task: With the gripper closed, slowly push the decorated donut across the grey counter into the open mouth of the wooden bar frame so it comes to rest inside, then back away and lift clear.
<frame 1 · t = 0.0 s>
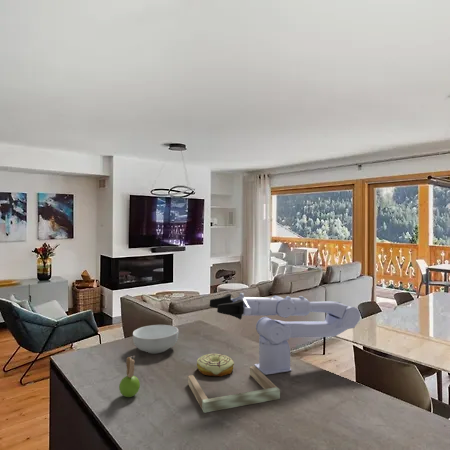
hand: (213, 305, 109), 22 cm above the kitchen island, tool horizontal, fingers open, 7 cm apart
wooden bar frame: (230, 389, 101), on the kitchen island
snail figurine: (130, 397, 97), on the kitchen island
decorated donut: (215, 371, 114), on the kitchen island
cereal bowl: (155, 350, 133), on the kitchen island
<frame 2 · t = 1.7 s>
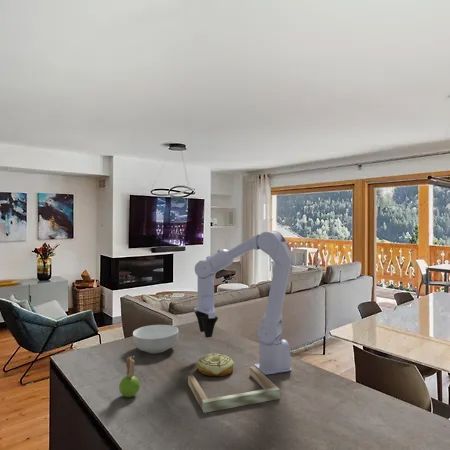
hand: (205, 334, 124), 8 cm above the kitchen island, tool pointing down, fingers open, 6 cm apart
nothing on the kitchen island moved.
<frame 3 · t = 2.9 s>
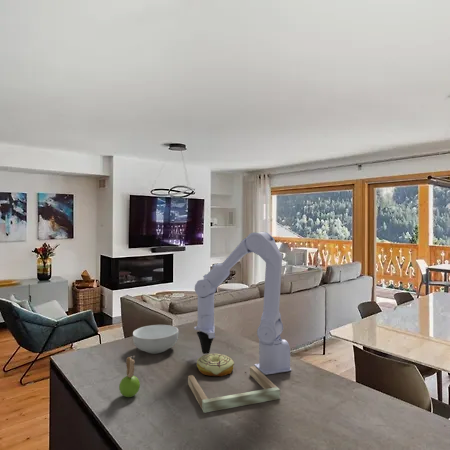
hand: (205, 353, 124), 2 cm above the kitchen island, tool pointing down, fingers closed
nothing on the kitchen island moved.
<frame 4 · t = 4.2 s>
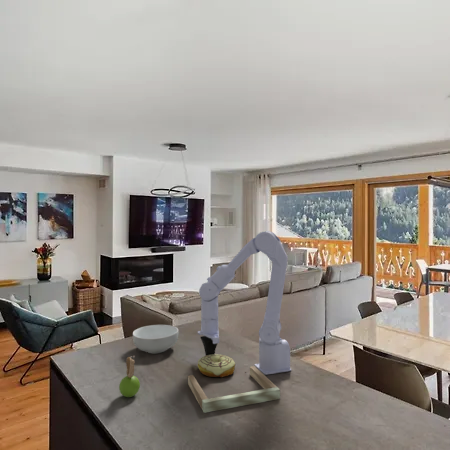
hand: (209, 358, 120), 2 cm above the kitchen island, tool pointing down, fingers closed
decorated donut: (216, 372, 113), on the kitchen island, touching gripper
everything else where it was.
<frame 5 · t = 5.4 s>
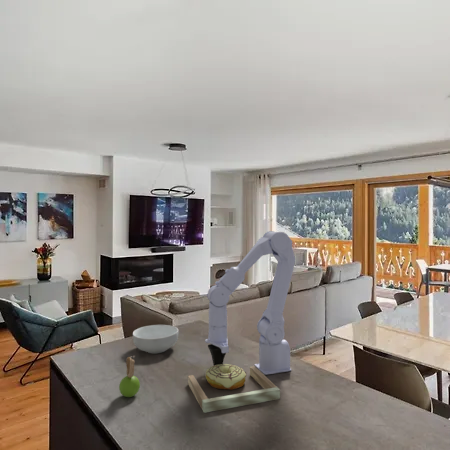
hand: (217, 368, 112), 2 cm above the kitchen island, tool pointing down, fingers closed
decorated donut: (225, 383, 105), on the kitchen island, touching gripper
everything else where it was.
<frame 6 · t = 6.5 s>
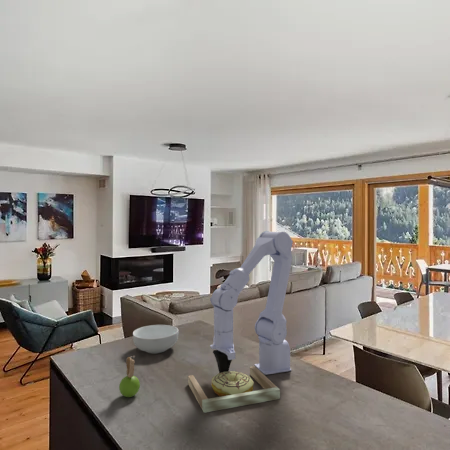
hand: (223, 375, 106), 2 cm above the kitchen island, tool pointing down, fingers closed
decorated donut: (232, 392, 100), on the kitchen island, touching gripper
everything else where it was.
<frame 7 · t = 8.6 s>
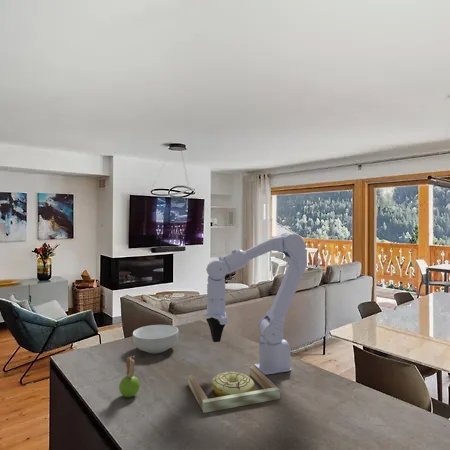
hand: (216, 341, 113), 9 cm above the kitchen island, tool pointing down, fingers closed
decorated donut: (232, 393, 100), on the kitchen island
everything else where it was.
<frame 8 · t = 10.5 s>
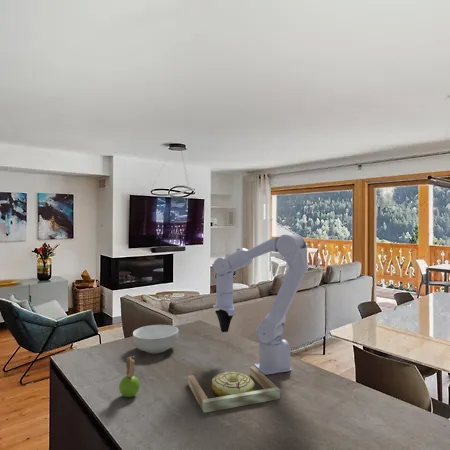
hand: (224, 331, 124), 9 cm above the kitchen island, tool pointing down, fingers closed
nothing on the kitchen island moved.
at the end: decorated donut 1.0 cm off-centre on the wooden bar frame, point 0.0 cm above the wooden bar frame's base; decorated donut tilted 1° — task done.
